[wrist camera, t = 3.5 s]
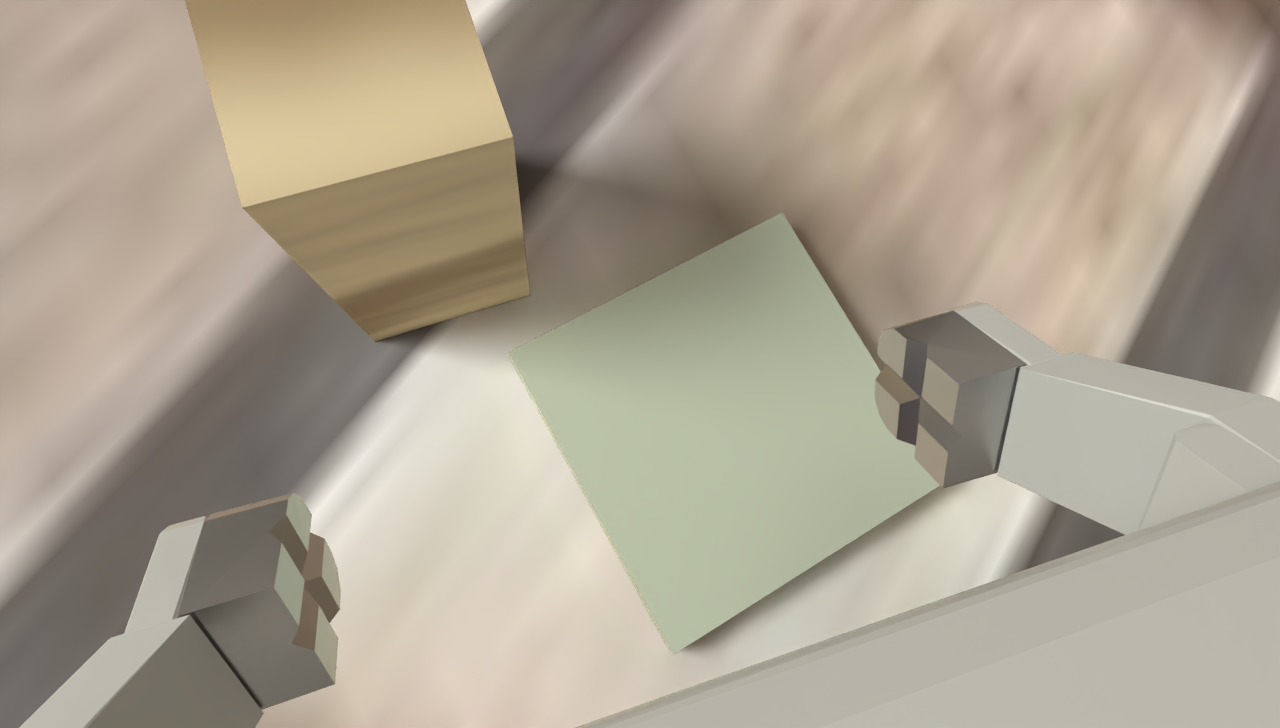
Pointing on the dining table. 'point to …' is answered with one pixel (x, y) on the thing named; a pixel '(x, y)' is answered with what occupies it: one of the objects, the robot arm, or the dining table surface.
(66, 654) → the dining table surface
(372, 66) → the beech block
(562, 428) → the tile
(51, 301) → the dining table surface
